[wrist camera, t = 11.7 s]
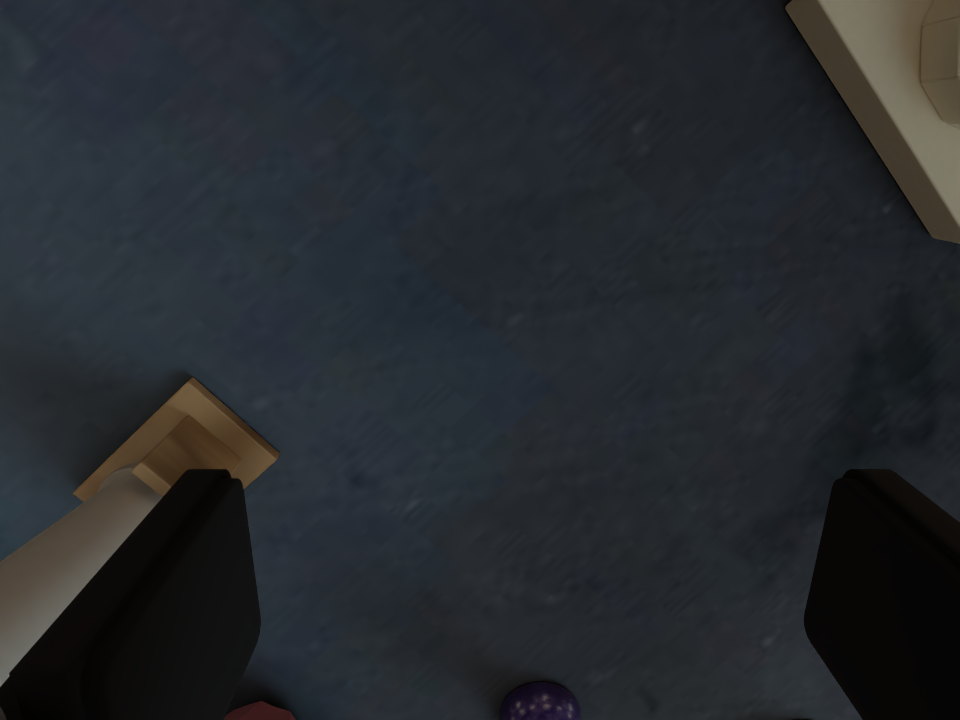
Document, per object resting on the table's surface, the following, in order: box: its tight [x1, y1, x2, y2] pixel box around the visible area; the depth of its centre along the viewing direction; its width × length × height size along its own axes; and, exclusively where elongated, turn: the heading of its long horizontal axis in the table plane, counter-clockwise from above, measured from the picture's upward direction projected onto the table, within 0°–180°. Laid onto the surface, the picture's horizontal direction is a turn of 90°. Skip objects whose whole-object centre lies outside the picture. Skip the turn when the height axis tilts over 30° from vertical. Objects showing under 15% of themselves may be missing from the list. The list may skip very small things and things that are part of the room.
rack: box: [73, 378, 280, 502], centre depth 26 cm, size 5×8×5 cm, turn 132°
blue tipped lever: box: [0, 462, 162, 687], centre depth 19 cm, size 13×4×4 cm
